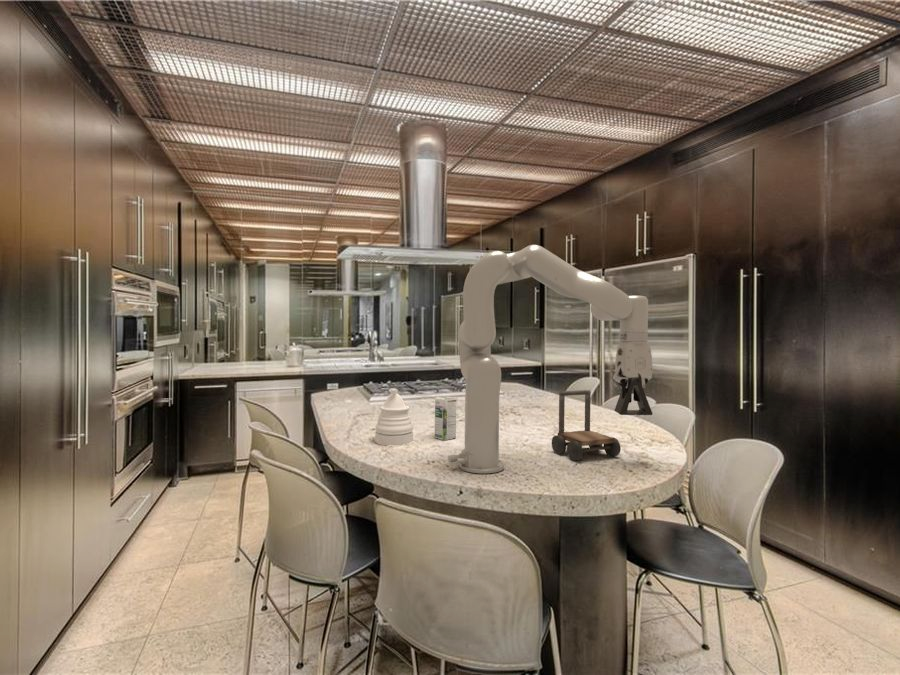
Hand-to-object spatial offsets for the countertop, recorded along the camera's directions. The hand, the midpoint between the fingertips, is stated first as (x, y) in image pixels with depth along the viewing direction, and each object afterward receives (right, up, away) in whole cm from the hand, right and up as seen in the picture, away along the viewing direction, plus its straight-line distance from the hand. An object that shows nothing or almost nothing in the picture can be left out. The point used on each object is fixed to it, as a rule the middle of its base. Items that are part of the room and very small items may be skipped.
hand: (632, 401), depth 133 cm
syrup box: (-55, -17, +29) cm, 65 cm away
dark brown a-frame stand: (0, -4, 0) cm, 4 cm away
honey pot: (-72, -17, +25) cm, 78 cm away
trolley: (-11, -18, +9) cm, 23 cm away
